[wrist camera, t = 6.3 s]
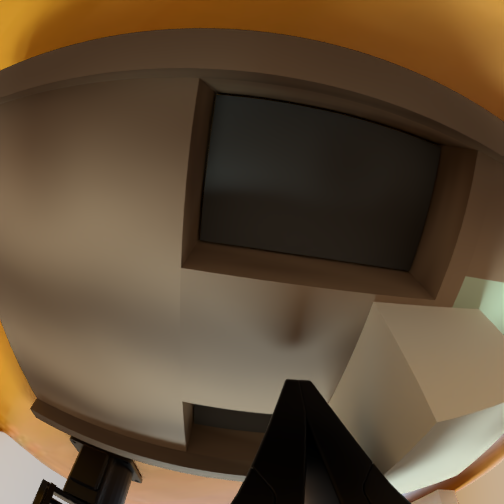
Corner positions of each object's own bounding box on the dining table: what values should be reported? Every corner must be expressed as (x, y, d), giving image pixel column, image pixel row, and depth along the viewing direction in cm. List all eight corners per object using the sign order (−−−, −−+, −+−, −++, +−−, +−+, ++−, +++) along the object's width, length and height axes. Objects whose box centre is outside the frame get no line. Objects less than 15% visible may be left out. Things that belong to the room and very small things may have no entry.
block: (425, 399, 10) (456, 475, 5) (326, 406, 10) (342, 505, 5) (478, 309, 8) (543, 384, 4) (373, 301, 8) (436, 422, 4)
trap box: (439, 423, 15) (453, 456, 11) (58, 383, 14) (36, 417, 11) (553, 190, 8) (594, 208, 5) (15, 90, 8) (-39, 91, 4)
